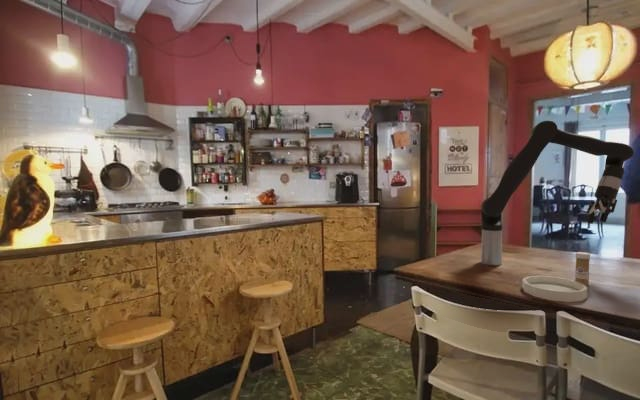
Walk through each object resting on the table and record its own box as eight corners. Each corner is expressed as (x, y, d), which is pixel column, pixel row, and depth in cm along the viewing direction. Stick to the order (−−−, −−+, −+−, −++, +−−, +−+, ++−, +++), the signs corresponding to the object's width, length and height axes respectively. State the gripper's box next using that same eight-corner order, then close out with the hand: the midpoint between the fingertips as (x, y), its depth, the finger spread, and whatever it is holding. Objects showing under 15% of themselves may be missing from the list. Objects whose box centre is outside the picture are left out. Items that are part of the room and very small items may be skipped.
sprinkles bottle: (574, 286, 142) (575, 253, 141) (575, 283, 146) (576, 251, 145) (588, 288, 139) (589, 254, 138) (589, 285, 143) (590, 252, 142)
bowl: (527, 298, 131) (527, 288, 130) (519, 282, 149) (520, 274, 149) (593, 304, 123) (594, 294, 123) (577, 287, 141) (577, 278, 141)
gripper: (588, 187, 165) (577, 220, 163) (610, 182, 151) (597, 218, 149) (605, 193, 163) (594, 226, 162) (628, 189, 149) (616, 224, 148)
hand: (595, 222), depth 156 cm, fingers open, 8 cm apart
